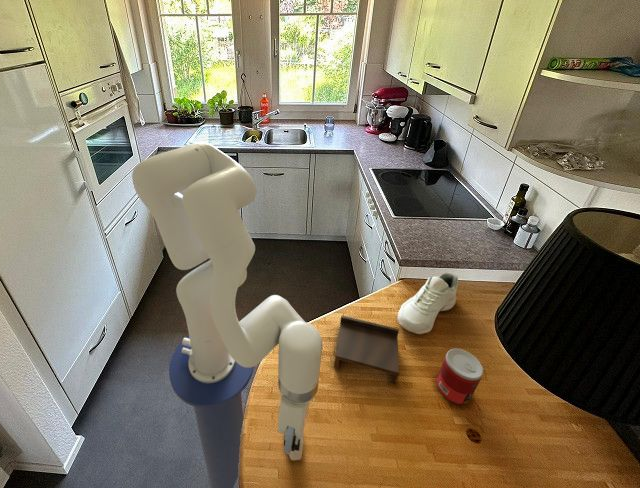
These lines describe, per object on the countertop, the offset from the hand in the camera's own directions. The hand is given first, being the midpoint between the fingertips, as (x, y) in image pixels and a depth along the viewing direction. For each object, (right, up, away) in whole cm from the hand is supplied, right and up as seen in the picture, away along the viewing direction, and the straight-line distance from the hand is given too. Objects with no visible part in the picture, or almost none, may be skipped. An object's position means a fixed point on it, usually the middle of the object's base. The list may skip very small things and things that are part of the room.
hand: (295, 429), depth 69 cm
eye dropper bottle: (0, -6, +3) cm, 7 cm away
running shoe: (+44, +11, +36) cm, 58 cm away
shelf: (+21, +4, +22) cm, 31 cm away
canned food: (+41, 0, +14) cm, 44 cm away
